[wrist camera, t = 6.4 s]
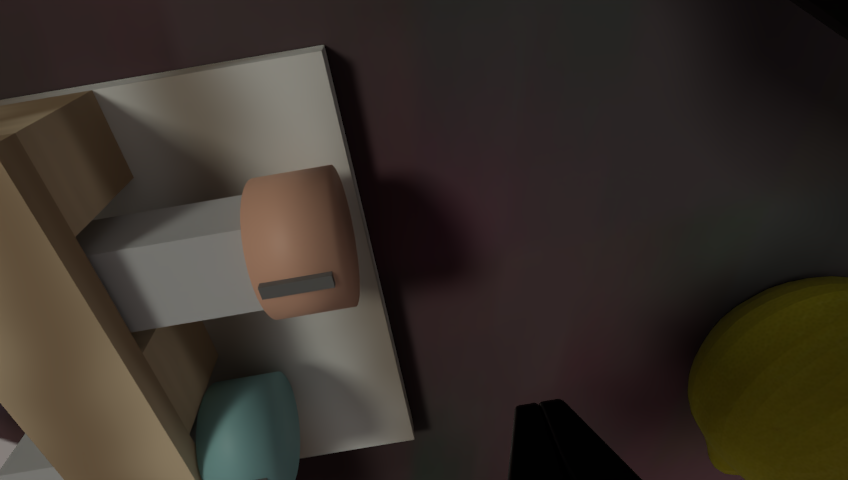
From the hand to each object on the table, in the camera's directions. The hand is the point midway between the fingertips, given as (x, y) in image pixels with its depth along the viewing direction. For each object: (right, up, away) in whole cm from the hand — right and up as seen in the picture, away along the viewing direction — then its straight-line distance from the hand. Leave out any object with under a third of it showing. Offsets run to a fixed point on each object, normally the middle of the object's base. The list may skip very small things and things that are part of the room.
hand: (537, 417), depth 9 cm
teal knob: (-13, -4, +13) cm, 18 cm away
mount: (-9, +1, +12) cm, 15 cm away
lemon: (+13, 0, +15) cm, 20 cm away
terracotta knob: (-9, +4, +9) cm, 13 cm away
